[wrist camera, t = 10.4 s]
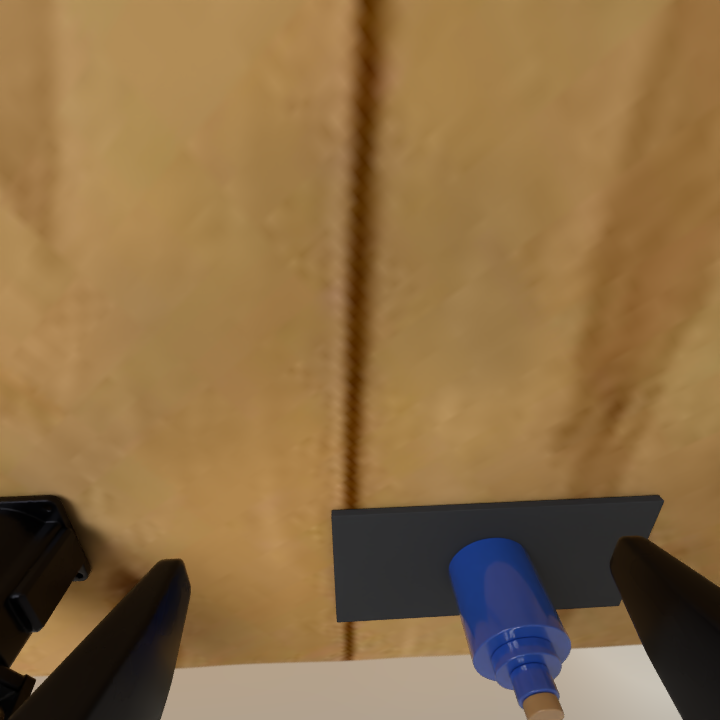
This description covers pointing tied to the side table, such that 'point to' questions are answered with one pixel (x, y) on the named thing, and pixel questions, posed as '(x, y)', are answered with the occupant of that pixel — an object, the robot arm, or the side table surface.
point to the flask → (510, 623)
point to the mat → (467, 525)
